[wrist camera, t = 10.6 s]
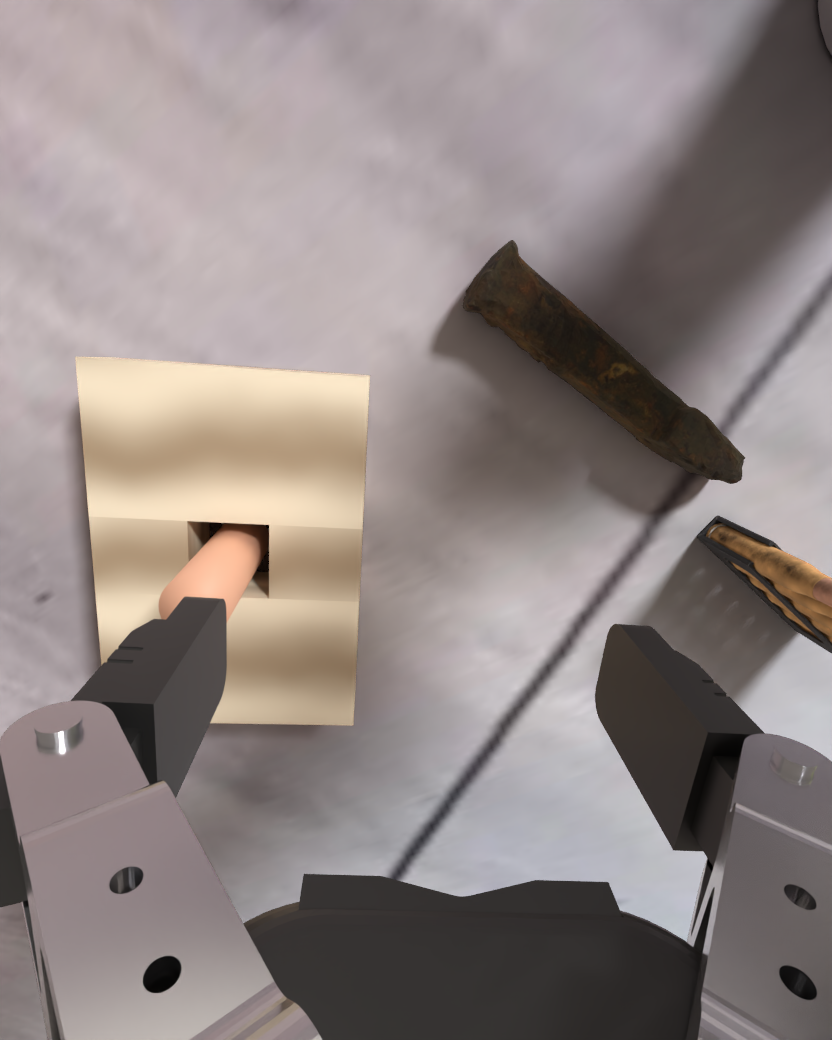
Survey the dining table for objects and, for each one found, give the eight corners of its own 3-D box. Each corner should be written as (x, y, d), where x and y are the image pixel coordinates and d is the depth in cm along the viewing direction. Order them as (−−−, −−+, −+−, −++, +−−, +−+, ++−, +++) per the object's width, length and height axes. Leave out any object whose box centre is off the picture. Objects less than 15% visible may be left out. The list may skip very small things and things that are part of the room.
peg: (218, 513, 34) (156, 574, 24) (269, 516, 34) (229, 577, 24) (219, 561, 35) (160, 639, 25) (270, 563, 35) (230, 640, 25)
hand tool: (451, 305, 32) (463, 296, 27) (497, 245, 31) (518, 226, 27) (678, 507, 36) (721, 528, 32) (723, 458, 35) (774, 472, 31)
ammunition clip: (817, 612, 38) (1007, 719, 27) (796, 631, 39) (975, 746, 27) (717, 514, 36) (878, 586, 25) (695, 536, 36) (845, 617, 25)
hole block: (112, 357, 31) (75, 356, 27) (370, 375, 32) (369, 377, 28) (134, 683, 36) (106, 721, 32) (355, 688, 37) (353, 725, 34)
